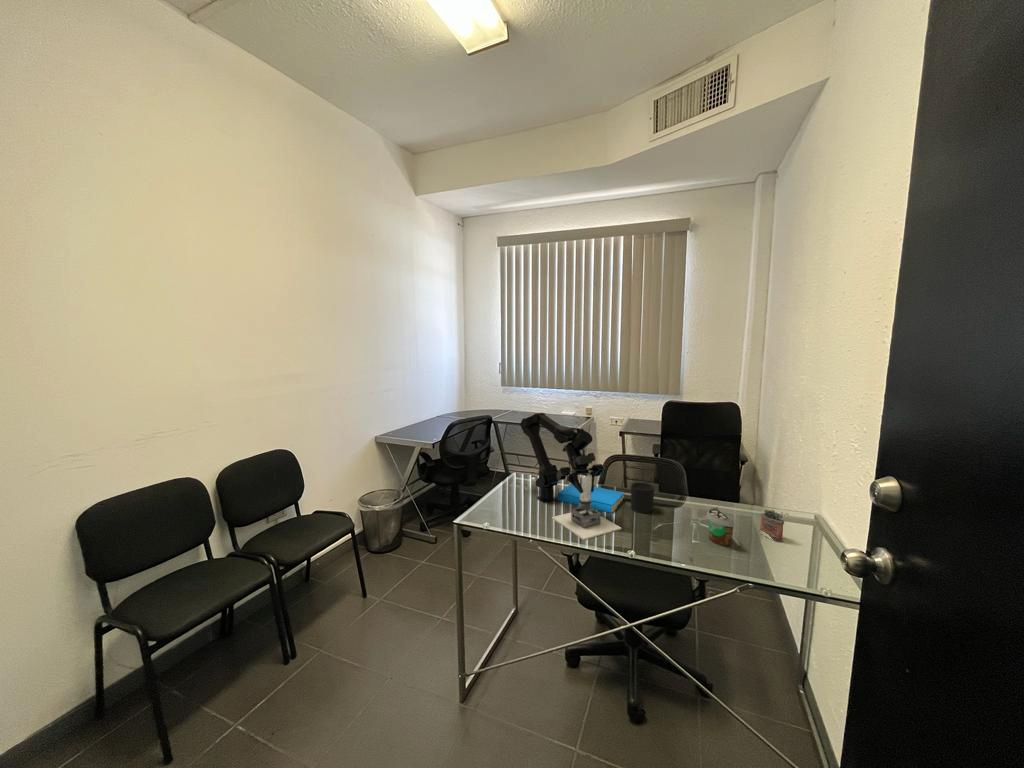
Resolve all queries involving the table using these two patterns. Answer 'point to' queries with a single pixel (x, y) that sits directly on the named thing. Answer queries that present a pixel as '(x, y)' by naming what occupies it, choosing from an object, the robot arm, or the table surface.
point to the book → (593, 498)
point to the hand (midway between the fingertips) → (587, 492)
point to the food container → (719, 527)
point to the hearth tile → (587, 532)
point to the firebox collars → (585, 517)
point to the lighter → (772, 524)
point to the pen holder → (642, 497)
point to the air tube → (585, 491)
